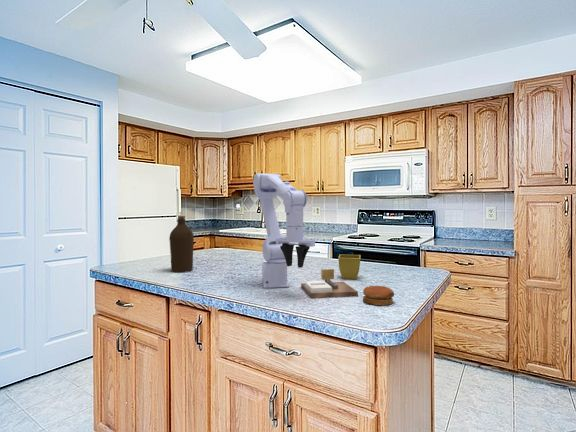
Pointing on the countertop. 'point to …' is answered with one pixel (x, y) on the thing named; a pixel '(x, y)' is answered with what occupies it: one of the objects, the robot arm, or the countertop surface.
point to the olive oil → (181, 247)
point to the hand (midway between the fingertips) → (294, 266)
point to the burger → (378, 295)
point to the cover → (318, 286)
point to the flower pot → (349, 266)
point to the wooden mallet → (328, 277)
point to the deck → (333, 291)
